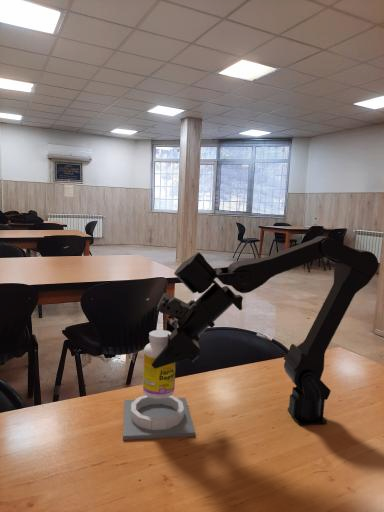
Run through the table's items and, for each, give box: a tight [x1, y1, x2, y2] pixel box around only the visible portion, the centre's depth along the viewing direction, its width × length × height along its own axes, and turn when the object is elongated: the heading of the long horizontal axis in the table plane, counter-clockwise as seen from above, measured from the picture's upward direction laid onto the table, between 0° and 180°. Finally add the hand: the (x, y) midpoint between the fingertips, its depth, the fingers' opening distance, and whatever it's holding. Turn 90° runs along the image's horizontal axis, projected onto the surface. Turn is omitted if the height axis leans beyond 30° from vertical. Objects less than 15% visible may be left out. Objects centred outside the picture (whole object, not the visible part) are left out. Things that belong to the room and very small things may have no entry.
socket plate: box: [122, 394, 196, 441], centre depth 81 cm, size 14×14×3 cm
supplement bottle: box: [142, 329, 176, 399], centre depth 79 cm, size 7×7×13 cm
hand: (153, 359), depth 79 cm, fingers closed on supplement bottle, 7 cm apart
